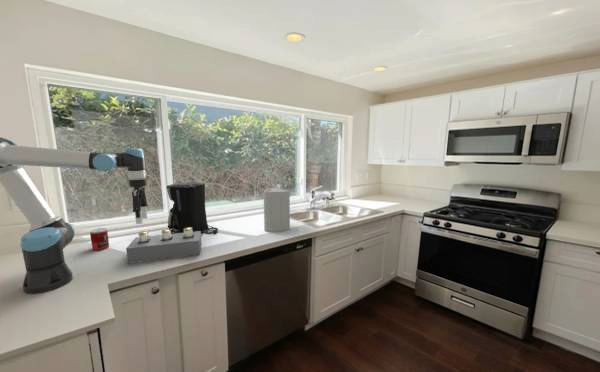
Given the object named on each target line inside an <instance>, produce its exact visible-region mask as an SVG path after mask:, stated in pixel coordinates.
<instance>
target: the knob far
mask: <svg viewBox="0 0 600 372" xmlns="http://www.w3.org/2000/svg"><path fill="white" fill-rule="evenodd" d="M186 238H193V232H192V227H186V228H184V239H186Z"/></svg>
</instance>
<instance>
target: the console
mask: <svg viewBox="0 0 600 372" xmlns="http://www.w3.org/2000/svg"><path fill="white" fill-rule="evenodd" d="M148 237H149V243H139V236H138V237H137V236H136V237H135V238H134V239H133V240H132V241H131V242H130V243H129V245H128V246H127V247H126V248H125V249H126V250H125V252H126V259H127V264H131V263H130V262H136V263H140V262H139V261H144V262H148V261H147V260H151V261H155V260H154V259H159V260H163V259H162V258H167V259H172V257H175V258H180V257H179V256H183V257H188V256H187V255H191V256H197V255H196V254H199V255H201V252H202V251H201V250H202V249H201V248H202V234H201V231H195V232H193V238H186V239H184V233H175V234H172V233H171V240H168V241H162V234H156V235H148Z"/></svg>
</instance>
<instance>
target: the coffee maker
mask: <svg viewBox="0 0 600 372" xmlns="http://www.w3.org/2000/svg"><path fill="white" fill-rule="evenodd" d="M166 192H167V195H168V198H169V200H170V201H172V203H173V204H172V207H171V208H170V209H169V212H168V219H167V229H171V234H175V233H184V228H186V227H192V232H195V231H201V235H202V234H204V233H206V234H209V235H210V234H213V235H216V234H217V233H218V231H219V230H218V227H213V226H211V225H209V224H208V220H207V218H208V217H207V210H206V184H205V183H204V182H191V181H190V182H180V183H173V184H167V185H166ZM210 230H212V231H210Z"/></svg>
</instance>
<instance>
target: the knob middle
mask: <svg viewBox="0 0 600 372" xmlns="http://www.w3.org/2000/svg"><path fill="white" fill-rule="evenodd" d="M171 234H172V233H171V229H169V228H165V229H162V230H161V235H162V241H168V240H171Z"/></svg>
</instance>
